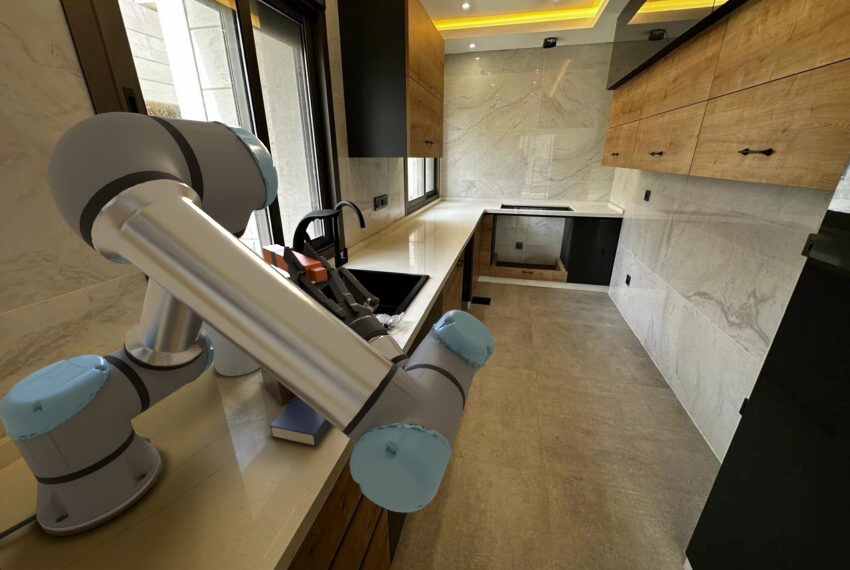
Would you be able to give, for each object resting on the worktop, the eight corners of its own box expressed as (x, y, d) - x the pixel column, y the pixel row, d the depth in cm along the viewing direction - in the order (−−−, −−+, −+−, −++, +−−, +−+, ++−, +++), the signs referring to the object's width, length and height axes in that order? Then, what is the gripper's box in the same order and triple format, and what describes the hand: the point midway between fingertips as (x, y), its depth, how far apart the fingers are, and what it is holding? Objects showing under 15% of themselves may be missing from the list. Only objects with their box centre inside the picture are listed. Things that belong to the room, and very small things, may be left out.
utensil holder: (249, 381, 83) (235, 320, 77) (198, 374, 86) (181, 315, 79) (282, 350, 97) (273, 296, 90) (238, 345, 99) (225, 292, 93)
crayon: (314, 286, 53) (311, 269, 52) (264, 261, 66) (261, 246, 65) (330, 282, 56) (329, 264, 54) (279, 258, 68) (277, 243, 67)
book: (315, 446, 65) (314, 435, 63) (271, 437, 67) (269, 425, 66) (347, 399, 77) (346, 388, 76) (310, 392, 80) (308, 382, 78)
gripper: (317, 386, 46) (247, 275, 55) (401, 343, 57) (331, 256, 66) (327, 357, 42) (248, 241, 50) (415, 316, 52) (338, 227, 61)
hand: (295, 250), depth 58 cm, fingers closed on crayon, 3 cm apart
